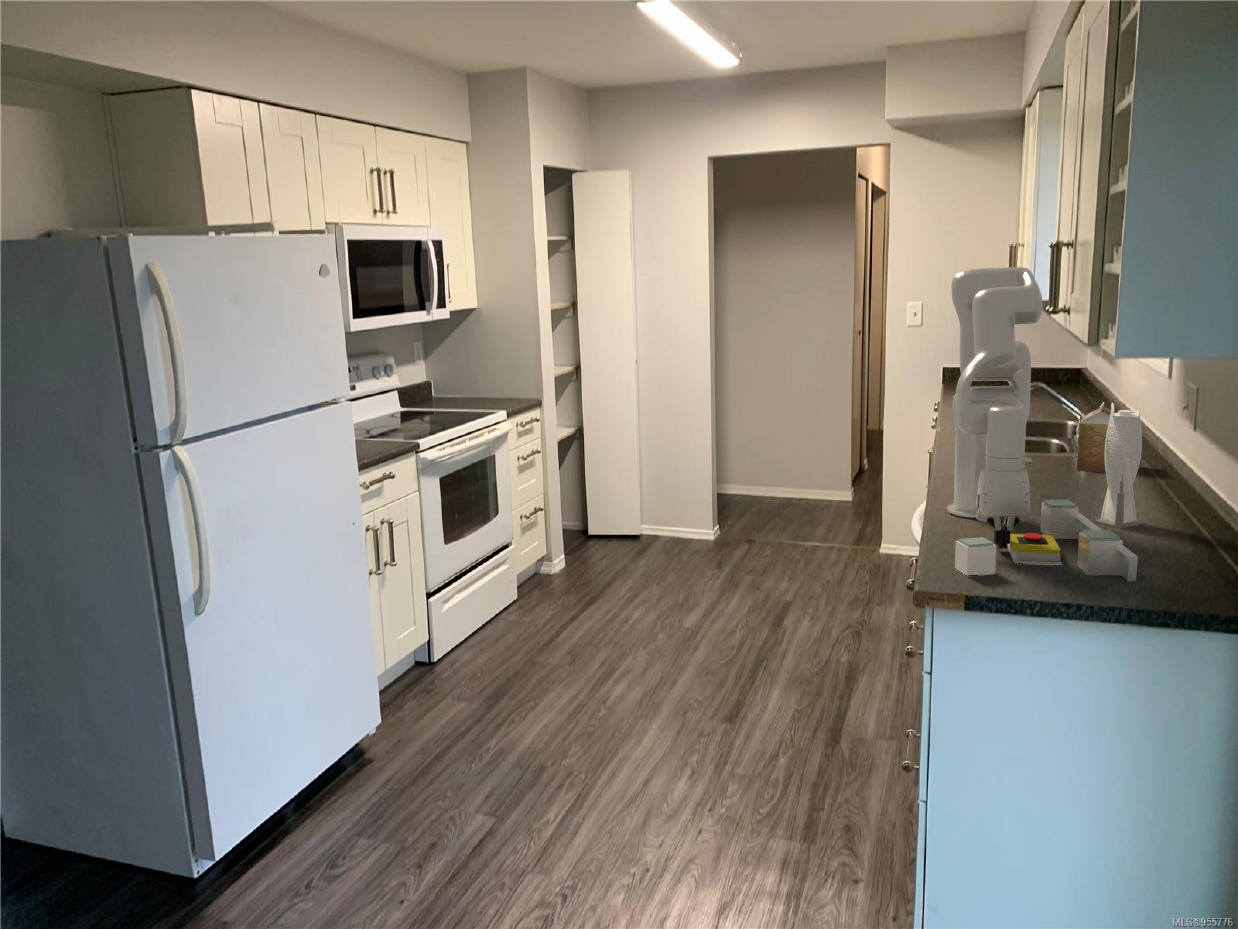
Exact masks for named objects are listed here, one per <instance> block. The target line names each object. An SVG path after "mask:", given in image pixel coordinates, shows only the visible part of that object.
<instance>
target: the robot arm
mask: <svg viewBox="0 0 1238 929" xmlns="http://www.w3.org/2000/svg"><path fill="white" fill-rule="evenodd" d="M951 298H952V303H953V306H954V310H955V313H956V316H957V317H958V322H959V369H960V370H959V371H960V376H959V378H958V381H957V384H956V389H955V393H954V395H953V398H952V410H953V411H952V413H953V421H954V431H955V433H954V434H955V449H954V450H955V451H954V452H955V453H954V459H955V460H954V482H953V484H954V488H953V489H954V490H953V493H954V494H953V503H950V504H948V505H947V506H946V511H947V512H948V513H949V514H951V513H952V514H951V515H953V514H954V516H956V515H957V517H962V518H969V519H970V518H971V519H976V520H977V521H979V522H982V523H988V524H989V525H990V526H991V527H992V528H993V544H994V545H996V547H997V548H998V549H1001V550H1002V549H1005V550H1008V544H1010V534H1012V533H1011V531H1012V530H1013V529H1014V528H1015V527H1016V526H1017V525H1018V524H1019V523H1023V522H1027V521H1030V519H1031V516H1030V511H1031V492H1030V490H1031V489H1030V480H1029V473H1028V470H1027V469H1026V466H1028V465H1032V462H1033V460H1032V458H1031V457H1026V455H1025V454H1026V433H1027V432H1026V431H1027V422H1028V419H1029V415H1030V411H1031V387H1032V386H1031V381H1032V380H1031V378H1032V377H1031V376H1032V358H1031V352H1030V349H1029V347H1028V345H1027V344H1026V343H1025V342H1023V341H1020V340H1016V333H1015V325H1031V324H1032V325H1033V324H1036V323H1038V321H1040V319H1041V317H1042V313H1043V305H1044V304H1043V297H1042V292H1041V289H1040V287H1039V285H1038V282H1037V280H1036V279H1035V277H1034V274H1033V273H1032V272H1031V270H1030V269H1029V268H1027V267H1023V266H1022V267H1021V266H1015V267H997V268H996V267H990V268H989V267H987V268H986V267H985V268H974V269H966V270H963V271H960V272H958V273H956V274H955V275H954V276H953V278H952V281H951ZM973 381H975V382H983V381H984V382H986V381H987V382H988V381H989V382H990V381H994V382H995V381H996V382H997V381H1006V382H1008V384H1009V385H1000V386H999V385H998V386H996V385H995V386H993V385H989V386H988V385H983V386H971V385H972V383H973ZM1001 518H1004V523H1003V525H1001V524H1002V522H1001Z"/></svg>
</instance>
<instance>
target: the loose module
mask: <svg viewBox="0 0 1238 929" xmlns="http://www.w3.org/2000/svg"><path fill="white" fill-rule="evenodd" d="M954 552H955V553H954V554H955V555H954V559H955V560H954V569H955V568H956V569H957V570H959V571H960V572H959V571H958V572H959V573H961V572H962V573H963V574H962V573H961V574H962V575H964V574H965V575H967V576H966V577H969V576H968V575H978V576H986V575H988V576H989V575H995V574H996V562H997V561H996V560H997V545H996V544H995V543H994V541H993V542H992V541H991V540H989V539H987V538H985V537H983V536H980V537H966V538H958V540H955V550H954ZM956 569H955V570H956ZM957 570H956V571H957ZM965 575H964V576H965Z"/></svg>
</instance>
